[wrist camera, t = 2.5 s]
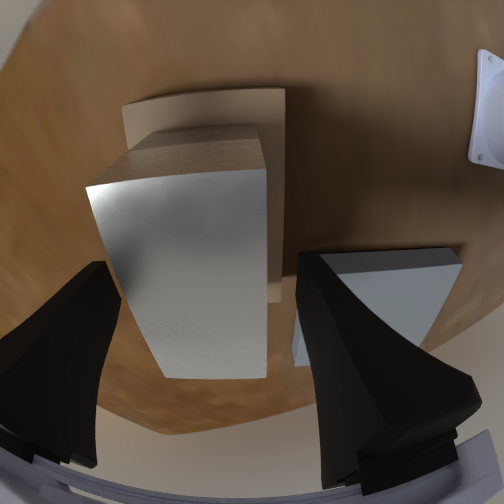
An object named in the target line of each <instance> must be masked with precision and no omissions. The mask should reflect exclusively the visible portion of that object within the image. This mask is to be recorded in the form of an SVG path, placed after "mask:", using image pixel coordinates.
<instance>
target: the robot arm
mask: <svg viewBox="0 0 504 504" xmlns="http://www.w3.org/2000/svg"><path fill="white" fill-rule="evenodd" d="M488 57H489V59H488ZM478 156H479V158H478ZM468 159H469V160H470V161H471V162H473V163H476V164H481V165H486V166H490V167H494V168H499V169H503V170H504V60H502V59H501V58H499V57H497V56H496V55H494V54H492V53H490V52H489V51H487V50H485V49H479V51H478V71H477V91H476V103H475V112H474V120H473V128H472V134H471V140H470V146H469V152H468ZM295 295H296V303H297V310H298V317H299V322H300V326H301V330H302V334H303V338H304V342H305V346H306V349H307V353H308V357H309V361H310V365H311V369H312V374H313V379H314V386H315V394H316V403H317V412H318V423H319V435H320V449H321V450H320V451H321V481H322V489H323V490H325V489H330V488H335V487H340V486H345V487H342V488H337V489H332V490H327V491H320V492H314V493H307V494H300V495H291V496H280V497H266V498H210V497H195V496H185V495H177V494H168V493H162V492H155V491H150V490H144V489H140V488H135V487H130V486H126V485H122V484H117V483H114V482H110V481H106V480H103V479H99V478H96V477H93V476H90V475H86V474H83V473H80V472H77V471H75V470H72V469H69V468H66V467H64V466H61V465H60V461H61V462H63V463H67V464H69V463H70V462H72V463H75V464H78V465H81V466H84V467H87V468H90V469H92V468H94V467H95V466H97V458H96V457H97V456H96V442H95V419H96V405H97V395H98V388H99V382H100V376H101V372H102V368H103V365H104V361H105V358H106V355H107V352H108V349H109V345H110V342H111V339H112V336H113V333H114V330H115V327H116V324H117V320H118V315H119V310H120V305H121V300H122V299H121V297H120V295H119V293H118V290H117V288H116V286H115V283H114V281H113V279H112V276H111V274H110V271H109V269H108V266H107V264H106V261H93V262H91V263H90V264H88V265H87V266H86V267H85V268H83V269H82V270H81V271H80V272H79V273H78V274H76V275H75V276H74V277H73V278H72V279H71V280H70V281H69V282H68V283H67V284H65V285H64V286H63V287H62V288H61V289H60V290H59V291H58V292H57V293H56V294H55V295H54V296H53V297H51V298H50V299H49V300H48V301H47V302H46V303H45V304H44V305H43V306H41V307H40V308H39V309H38V310H37V311H36V312H35V313H34V314H33V315H31V316H30V317H29V318H28V319H27V320H25V321H24V322H23V323H22V324H20V325H19V326H18V327H16V328H15V329H14V330H12V331H11V332H10V333H8V334H7V335H5V336H4V337H3V338H1V339H0V504H107V503H105V502H102V501H98V500H95V499H92V498H88V497H86V496H82V495H79V494H76V493H73V492H71V490H70V488H69V486H68V485H70V486H72V487H75V488H77V489H80V490H83V491H85V492H88V493H91V494H94V495H97V496H101V497H104V498H107V499H111V500H114V501H118V502H122V503H125V504H484V503H486V502H487V501H488V500H490V499H491V498H492V497H494V496H495V495H496V494H498V493H499V492H500V491H501V490H503V488H504V485H503V479H502V475H501V471H500V467H499V463H498V459H497V455H496V452H495V448H494V445H493V442H492V438H491V435H490V432H489V430H487V429H486V430H484V431H483V432H481V433H479V434H478V435H476V436H474V437H472V438H470V439H468V440H466V441H465V442H463V443H461V444H459V445H457V446H456V447H455V444H454V439H456V438H457V436H458V435H457V431H456V427H457V426H458V425H460V424H461V423H463V422H464V421H465V420H466V419H468V418H469V417H470V416H472V415H473V414H474V413H475V412H476V411H477V410H478V409H479V408H480V406H481V404H482V400H481V397H480V395H479V392H478V390H477V388H476V386H475V383H474V381H473V379H472V377H471V376H470V375H468V374H465V373H463V372H461V371H459V370H457V369H455V368H453V367H451V366H449V365H447V364H445V363H444V362H442V361H440V360H438V359H437V358H435V357H433V356H432V355H430V354H428V353H427V352H425V351H424V350H422V349H420V348H419V347H417V346H416V345H414V344H413V343H412V342H410V341H409V340H407V339H406V338H405V337H403V336H402V335H400V334H399V333H398V332H396V331H395V330H394V329H393V328H391V327H390V326H389V325H388V324H387V323H385V322H384V321H383V320H382V319H381V318H379V317H378V316H377V315H376V314H375V313H374V312H372V311H371V310H370V309H369V308H368V307H367V306H366V305H365V304H364V303H363V302H362V301H361V300H360V299H359V298H358V297H357V296H356V295H355V294H354V293H353V292H352V291H351V290H350V289H349V288H348V286H347V285H346V284H345V283H344V282H343V281H342V280H341V279H340V278H339V277H338V276H337V274H336V273H335V272H334V271H333V270H332V269H331V267H330V266H329V265H328V264H327V263H326V262H325V260H324V259H323V258H322V257H321V256H320V255H319V254H318V253H317V252H316V251H310V252H299V260H298V272H297V283H296V294H295Z"/></svg>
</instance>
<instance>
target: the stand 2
mask: <svg viewBox="0 0 504 504" xmlns="http://www.w3.org/2000/svg"><path fill="white" fill-rule="evenodd" d="M319 255H320V256H321V257H322V258H323V259H324V260H325V262H326V263H327V264H328V265H329V266H330V267H331V269H332V270H333V271H334V272H335V273H336V274H337V276H338V277H339V278H340V279H341V280H342V281H343V282H344V283H345V284H346V285H347V286H348V288H349V289H350V290H351V291H352V292H353V293H354V294H355V295H356V296H357V297H358V298H359V299H360V300H361V301H362V302H363V303H364V304H365V305H366V306H367V307H368V308H369V309H370V310H371V311H372V312H374V313H375V314H376V315H377V316H378V317H379V318H381V319H382V320H383V321H384V322H385V323H387V324H388V325H389V326H390V327H391V328H393V329H394V330H395V331H396V332H398V333H399V334H400V335H402V336H403V337H405V338H406V339H407V340H409V341H410V342H412V343H413V344H414V345H416V346H417V347H419V345H420V344H421V342H422V341H423V339H424V337H425V336H426V334H427V333H428V331H429V329H430V328H431V326H432V324H433V322H434V321H435V319H436V317H437V315H438V314H439V312H440V310H441V308H442V306H443V304H444V302H445V301H446V299H447V297H448V295H449V293H450V291H451V289H452V287H453V285H454V283H455V281H456V278H457V276H458V274H459V272H460V270H461V268H462V265H463V263H462V261H461V260H460V259H459V258H458V256H457V255H456V254H455V253H454V252H453V250H452V249H451V248H433V249H414V250H395V251H376V252H356V253H336V254H319ZM292 351H293V358H294V365H295V367H296V366H307V365H310V361H309V357H308V353H307V349H306V346H305V342H304V338H303V334H302V330H301V326H300V322H299V317H298V310H297V311H296V320H295V328H294V336H293V344H292Z"/></svg>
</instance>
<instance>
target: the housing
mask: <svg viewBox="0 0 504 504" xmlns="http://www.w3.org/2000/svg"><path fill="white" fill-rule="evenodd" d="M86 190H87V193H88V197H89V200H90V203H91V207H92V210H93V213H94V216H95V219H96V223H97V226H98V229H99V232H100V234H101V237H102V240H103V243H104V246H105V248H106V251H107V254H108V257H109V259H110V262H111V264H112V267H113V269H114V272H115V274H116V277H117V279H118V282H119V284H120V287H121V289H122V291H123V294H124V296H125V298H126V300H127V303H128V305H129V307H130V309H131V311H132V314H133V316H134V318H135V320H136V322H137V324H138V326H139V328H140V330H141V332H142V334H143V336H144V338H145V340H146V342H147V344H148V346H149V348H150V350H151V352H152V354H153V356H154V358H155V359H156V361H157V363H158V365H159V367H160V368H161V370H162V372H163V374H164V376H165V377H166V378H184V379H250V378H266V373H267V184H266V166H265V161H264V157H263V153H262V149H261V144H260V140H259V136H258V132H257V128H256V123H245V124H227V125H213V126H202V127H192V128H183V129H175V130H167V131H160V132H154V133H151V134H149V135H148V136H147V137H145V138H144V139H143V140H141V141H140V142H139V143H137V144H136V145H135V146H133V147H132V148H131V149H130V150H128V151H127V152H126V153H125V154H123V155H122V156H121V157H120V158H119V159H117V160H116V161H115V162H114V163H113V164H111V165H110V166H109V167H108V168H107V169H106V170H104V171H103V172H102V173H101V174H100V175H99V176H98V177H97V178H95V179H94V180H93V181H92V182H91V183H90V184H89V185H88V186H87V187H86Z"/></svg>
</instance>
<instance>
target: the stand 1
mask: <svg viewBox="0 0 504 504" xmlns="http://www.w3.org/2000/svg"><path fill="white" fill-rule="evenodd" d="M121 108H122V115H123V121H124V128H125V134H126V140H127V146H128V150H130V149H131V148H132V147H133V146H135V145H136V144H137V143H139V142H140V141H141V140H143V139H144V138H145V137H147V136H148V135H149V134H151V133H154V132H160V131H167V130H175V129H183V128H192V127H202V126H213V125H227V124H245V123H256V128H257V132H258V136H259V140H260V144H261V149H262V153H263V157H264V161H265V166H266V184H267V303H273V302H281V286H282V262H283V234H284V196H285V89H284V88H281V87H243V88H226V89H213V90H203V91H194V92H186V93H178V94H171V95H165V96H159V97H153V98H148V99H142V100H137V101H134V102H131V103H128V104H125V105H123V106H121Z"/></svg>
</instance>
